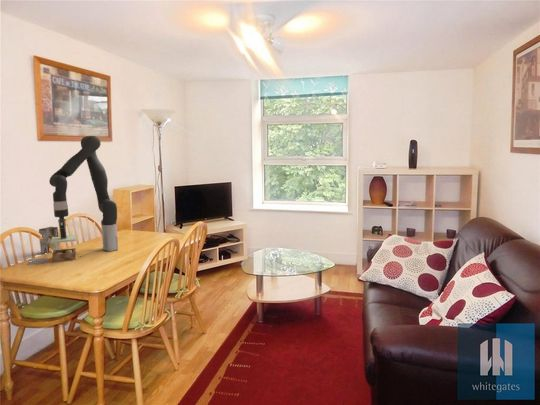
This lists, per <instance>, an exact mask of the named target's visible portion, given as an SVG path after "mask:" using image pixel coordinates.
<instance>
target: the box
mask: <svg viewBox="0 0 540 405" xmlns="http://www.w3.org/2000/svg"><path fill="white" fill-rule="evenodd" d="M67 250H72V253H66V251H67ZM57 253H62V254H57ZM51 257H52V263H57V262H67V261H75V260H76V259H77V248H75V247H73V248H64V249H63V248H62V249H60V250H54V251H53V252H52V256H51Z"/></svg>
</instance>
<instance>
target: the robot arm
mask: <svg viewBox="0 0 540 405" xmlns="http://www.w3.org/2000/svg"><path fill="white" fill-rule="evenodd" d="M80 145H81V146H80V147H81V149H80V150H79V151H78V152H76V153H75V154H74V155H73V156H71V157H70V158H69V159H68V160H67V161H66V162H65V163H64V164H63V165H62V167H60V168H59V169H58V170H57V171H56V172H54V173H53V174H52V175H50V178H49V184H50V185H51V187H53V188H54V187H55V189H54V192H53V193H52V200H53V213H54V214H53V215H54V217H55V218H58V220H57V222H58V227H59V232H60V231H61V237H62V238H64V237H65V228H66V226H67V219H66V218H67V217H68V216H69V207H68V206H69V205H68V200H67V190H68V180H67V178H69V177H71V176H73V175H74V173H75V172H76V171H77V169H79V167H81V166H82V164H83V163H84V162H85V161H86V163H87V167H88V171H89V174H90V178H91V182H92V184H93V188H94V191H95V194H96V199H97V206H98V210H99V211H100V212H101V213H102V220H100V224H101V237H102V239H101V240H102V241H101V242H102V250H103V251H104V252H112V251H117V250H119V243H118V242H119V241H118V239H119V238H118V228H117V220H118V206H117V203H116V202H115V201H114V200H111V199H110V195H109V192H108V186H109V185H108V184H109V183H108V176H107V172H106V170H105V167H104V166H103V164H102V162H101V161H100V159H99V158H98V154H97V152H96V151H97V150H98V149H99V148H100V147H101V140H100V138H99V137H98V136H96V135H87V136H84V137H82V138H81V140H80ZM65 217H66V218H65ZM61 228H64V229H61ZM66 229H67V228H66Z"/></svg>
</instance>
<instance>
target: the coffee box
mask: <svg viewBox="0 0 540 405" xmlns="http://www.w3.org/2000/svg"><path fill="white" fill-rule="evenodd" d="M38 233H40V234H41V235H42V238H43V241H42V240H41V239H40V238H39V244H40V245H39V247H40V253H42V254H51V253H50V251H49V248H51V249H52V250H53V251H54V250H61V249H60V243H51V240H52V237H59V229H58V227H57V226H47V227H43V228H39V229H38Z"/></svg>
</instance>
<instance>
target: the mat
mask: <svg viewBox="0 0 540 405" xmlns="http://www.w3.org/2000/svg"><path fill="white" fill-rule="evenodd" d="M48 259H49V257H44V258H43V257H42V258H32V259H28V261H27V263H26V266H30V265H40V264H47V262H48ZM33 260H34V261H33ZM29 261H32V262H29Z"/></svg>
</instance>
